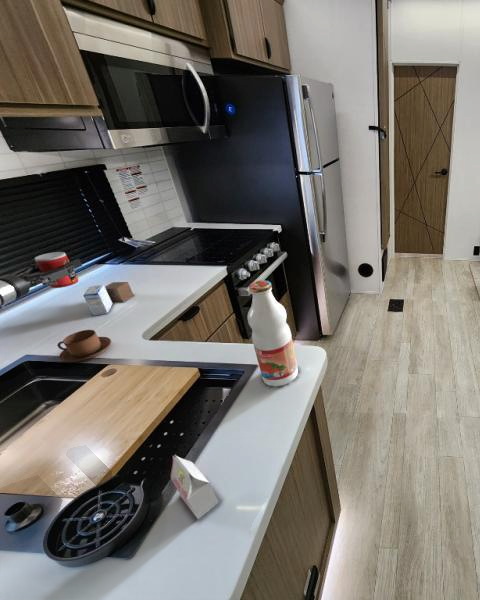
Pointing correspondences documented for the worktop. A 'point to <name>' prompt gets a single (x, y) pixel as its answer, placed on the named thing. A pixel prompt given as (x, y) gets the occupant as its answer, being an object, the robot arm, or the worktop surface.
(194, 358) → the worktop surface
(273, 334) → the fruit juice
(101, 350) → the cup and saucer
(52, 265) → the canned food
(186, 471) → the white carton box
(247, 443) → the worktop surface
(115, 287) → the walnut block
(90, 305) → the medicine box
